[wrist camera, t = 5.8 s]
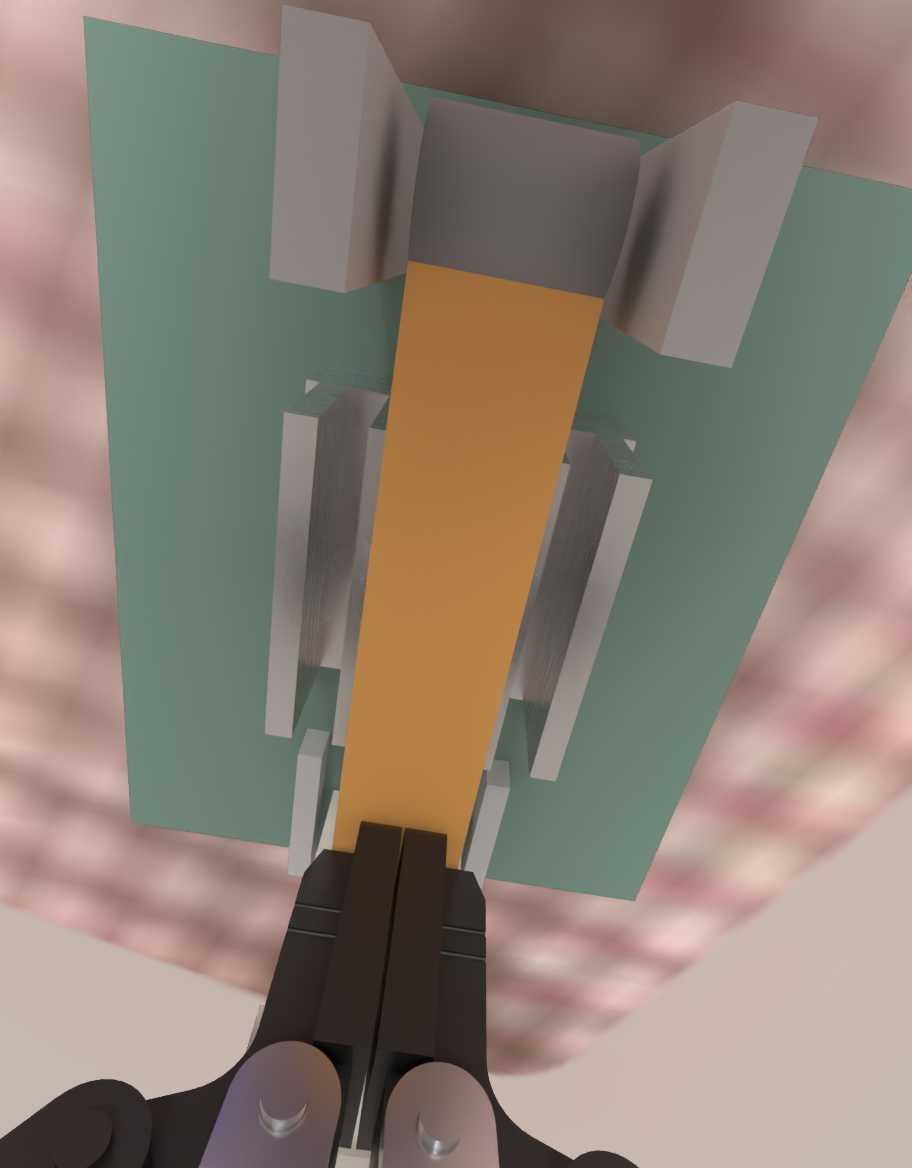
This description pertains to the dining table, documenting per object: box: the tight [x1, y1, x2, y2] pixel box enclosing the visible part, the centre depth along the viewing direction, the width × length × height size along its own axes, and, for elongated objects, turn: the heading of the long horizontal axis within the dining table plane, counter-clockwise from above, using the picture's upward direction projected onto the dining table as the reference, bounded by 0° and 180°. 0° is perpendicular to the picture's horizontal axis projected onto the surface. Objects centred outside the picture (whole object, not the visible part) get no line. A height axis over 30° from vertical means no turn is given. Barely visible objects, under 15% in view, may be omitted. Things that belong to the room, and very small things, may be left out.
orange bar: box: [332, 97, 641, 880], centre depth 10 cm, size 12×2×2 cm, turn 170°
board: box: [83, 4, 912, 901], centre depth 13 cm, size 19×15×8 cm
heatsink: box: [265, 364, 653, 781], centre depth 13 cm, size 6×6×4 cm
